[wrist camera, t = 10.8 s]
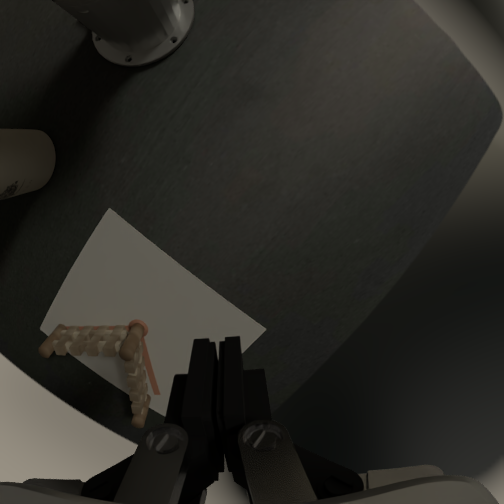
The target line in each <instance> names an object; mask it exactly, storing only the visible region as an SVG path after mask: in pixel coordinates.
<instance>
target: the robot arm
mask: <svg viewBox="0 0 504 504" xmlns="http://www.w3.org/2000/svg"><path fill="white" fill-rule="evenodd" d="M52 1H53V2H55V3H56V4H57V5H59V6H60V7H61V8H63V9H64V10H65V11H67V12H68V13H69V14H71V15H72V16H73V17H75V18H76V19H77V20H79V21H80V22H81V23H82V24H84V25H85V26H86V27H88V28H89V29H90V30H91V31H92V39H93V42H94V45H95V48H96V49H97V51H98V52H99V53H100V54H101V55H102V56H103V57H104V58H105V59H107V60H108V61H110V62H112V63H114V64H116V65H120V66H125V67H138V66H144V65H148V64H151V63H154V62H157V61H159V60H161V59H163V58H165V57H166V56H168V55H169V54H171V53H172V52H174V51H175V50H176V49H177V48H178V47H179V46H180V45H181V44H182V43H183V42H184V40H185V39H186V38H187V36H188V34H189V32H190V30H191V29H192V26H193V22H194V15H195V10H194V4H193V1H192V0H52ZM186 2H187V3H186ZM184 3H186V4H184ZM100 39H101V40H100ZM99 40H100V41H99ZM173 41H177V42H175V43H173ZM130 59H132V60H131V61H130V62H129V60H130ZM224 454H225V458H226V462H227V467H228V470H229V472H232V474H233V478H234V481H235V482H236V483H237V484H239V485H241V486H242V487H243V488H245V489H246V490H247V495H248V498H249V502H250V504H499V503H498V502H497V500H496V499H495V498H494V497H493V495H492V494H491V493H490V492H489V491H488V490H487V488H485V487H484V485H482V484H481V483H480V482H478V481H476V480H475V479H473V478H470V477H465V476H457V475H444V473H443V471H442V470H441V469H439V468H438V467H436V466H433V465H419V466H412V467H404V468H395V469H384V470H372V471H368V472H367V474H357V473H355V472H354V471H352V470H350V469H348V468H345V467H343V466H341V465H338V464H336V463H334V462H331V461H329V460H327V459H325V458H323V457H321V456H319V455H317V454H314V453H312V452H310V451H308V450H306V449H304V448H302V447H300V446H298V445H296V444H294V443H292V440H291V438H290V436H289V433H288V431H287V430H286V428H285V427H284V426H283V425H282V424H280V423H279V422H276V421H273V420H272V418H271V411H270V405H269V398H268V392H267V385H266V378H265V372H264V369H255V370H243V361H242V351H241V342H240V336H232V337H225V341H219V358H218V356H217V350H216V343H215V342H210V340H209V338H202V339H194V341H193V346H192V352H191V357H190V363H189V369H188V374H175V375H174V379H173V383H172V388H171V392H170V397H169V402H168V407H167V411H166V416H165V421H164V423H163V424H159V425H155V426H153V427H151V428H150V429H148V430H147V431H146V432H145V433H144V435H143V436H142V438H141V440H140V442H139V445H138V447H137V449H136V451H135V453H134V454H133V455H131V456H130V457H128V458H126V459H124V460H123V461H121V462H119V463H118V464H116V465H114V466H112V467H110V468H108V469H107V470H105V471H103V472H101V473H99V474H97V475H95V476H94V477H92V478H90V479H89V480H88V481H86V482H82V481H81V480H63V479H62V480H61V479H60V480H59V479H37V478H34V479H28V480H26V481H24V482H23V483H15V482H0V504H204V503H205V500H206V495H207V489H206V488H207V487H208V486H210V485H211V484H212V483H214V481H218V475H219V474H218V473H219V472H224Z"/></svg>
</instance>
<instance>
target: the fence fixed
mask: <svg viewBox="0 0 504 504" xmlns="http://www.w3.org/2000/svg"><path fill="white" fill-rule="evenodd" d="M144 331H145V329H144V326H143V325H142V324H140V323H134V324H133V325H132V327H131V329H130V331H129V333H128V331H127V330H126V327H125V325H116V326H115V328H114V329H113V330H110V328H109V325H103V326H99V328H98V329H97V330H94V327H93V326H84V328H83V329H82V330H80V329H79V326H70V327H69V328H68V330H67V328H66V326H65V325H63V324H59V325H58V326H57V327H56V328H55V329H54V331H53V332H52V333H51V334H50V335H49V337H48V338H47V339H46V340H45V341H44V343H43V344H42V345H41V346H40V347H39V353H40V355H41V356H42V357H44V358H49V356H50V355H51V354H52V352H53V351H54V350H55V352H56V354H57V355H66V353H67V352H68V351H70V352H71V355H72V356H81V355H82V353H83V351H84V352H86V353H87V355H88V356H98V354H99V353H100V352H103V353H104V355H105V357H115V356H116V354H117V352H119V356H120V358H121V359H123V360H125V361H131V360H132V359H133V356H134V354H135V352H136V349H137V347H138V345H139V342H140V340H141V338H142V336H143V333H144ZM106 340H107V341H106ZM123 340H125V341H124V343H123V345H122V342H123Z"/></svg>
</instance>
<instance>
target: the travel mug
mask: <svg viewBox="0 0 504 504" xmlns="http://www.w3.org/2000/svg"><path fill="white" fill-rule="evenodd" d="M55 161H56V155H55V148H54V145H53V142H52V140H51V139H50V137H49V136H48V135H47V134H46V133H44V132H43V131H40V130H31V129H0V200H3V199H7V198H10V197H13V196H17V195H20V194H24V193H27V192H31V191H35V190H38V189H40V188H42V187H43V186H44V185H45V184H46V183H47V182H48V181H49V179H50V178H51V176H52V173H53V171H54V167H55Z"/></svg>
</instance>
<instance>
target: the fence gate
mask: <svg viewBox="0 0 504 504" xmlns="http://www.w3.org/2000/svg"><path fill="white" fill-rule="evenodd" d="M143 350H144V349H143V342H141V341H140V342H139V345H138V347H137V349H136V352H135V354H134V356H133V359H132V360H131V361H125V363H124V367H125V373H129V374H128V376H127V379H126V380H127V386H128V387H130V388H131V389H130V391H129V397H130V401H133V402H132V405H131V408H132V413H134V415H133V419H132V422H131V423H132V425H133V426H134V427H136V428H143V426H144V423H145V419H146V415H147V412H148V408H149V404H150V401H151V397H150V395H148V394H147V392H148V386H147V383H145V381H146V378H147V377H146V370H144V366H145V359H144V356H142V353H143Z"/></svg>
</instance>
